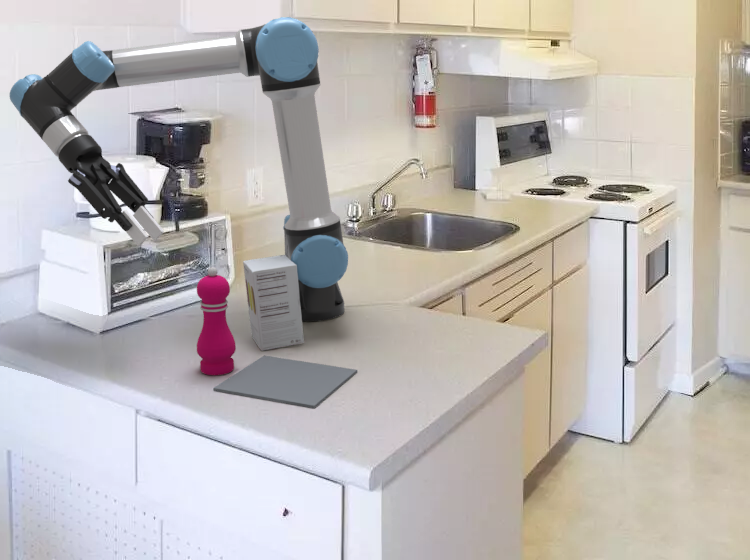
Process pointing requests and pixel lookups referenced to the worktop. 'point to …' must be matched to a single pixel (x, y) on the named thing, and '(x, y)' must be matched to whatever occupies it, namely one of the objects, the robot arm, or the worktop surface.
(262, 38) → the robot arm
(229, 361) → the pepper mill
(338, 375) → the slate mat
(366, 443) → the worktop surface
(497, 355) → the worktop surface
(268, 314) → the supplement box
